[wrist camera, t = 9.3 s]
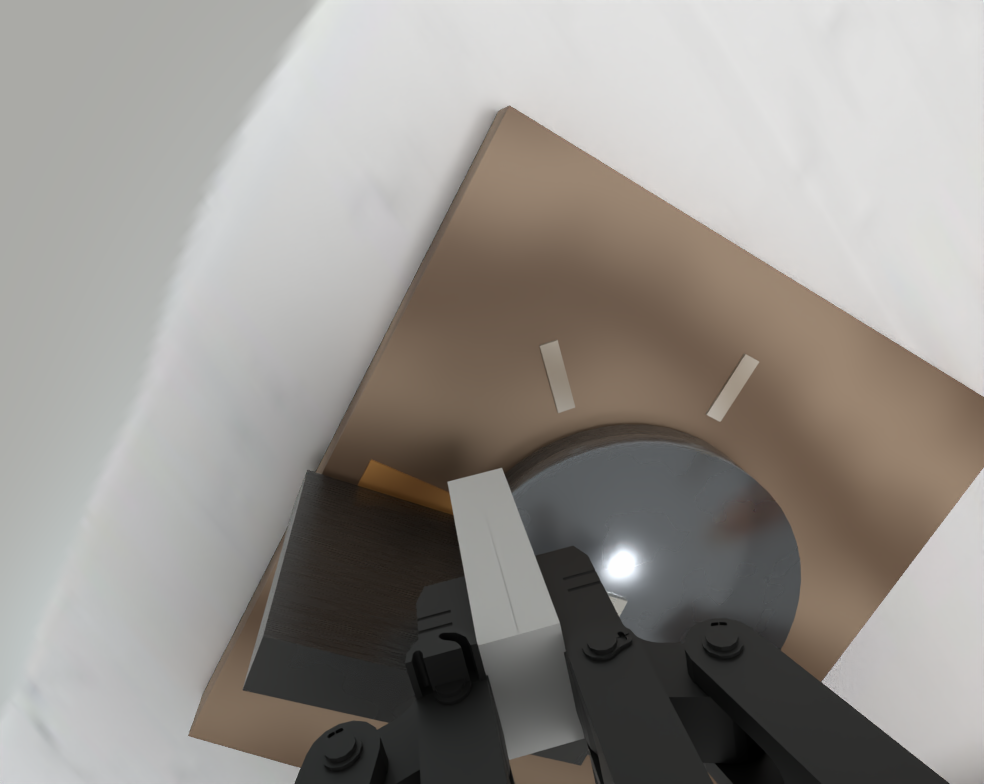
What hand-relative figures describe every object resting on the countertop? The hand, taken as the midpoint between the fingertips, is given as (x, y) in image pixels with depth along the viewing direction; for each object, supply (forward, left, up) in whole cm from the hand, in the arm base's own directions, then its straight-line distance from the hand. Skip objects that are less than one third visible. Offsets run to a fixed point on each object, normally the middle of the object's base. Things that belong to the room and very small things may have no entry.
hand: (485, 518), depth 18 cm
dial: (-2, -4, -4) cm, 6 cm away
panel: (-2, -7, -6) cm, 10 cm away
